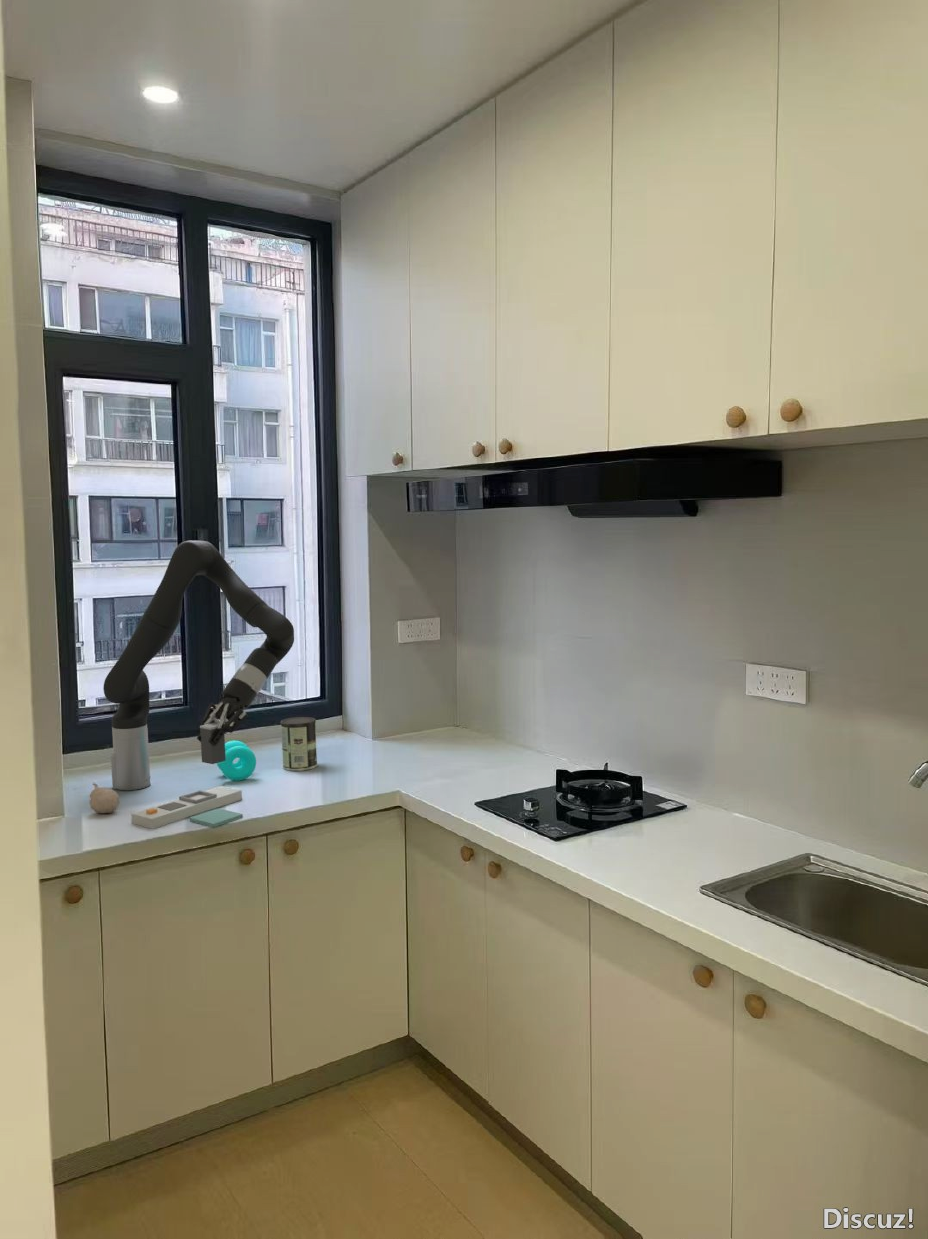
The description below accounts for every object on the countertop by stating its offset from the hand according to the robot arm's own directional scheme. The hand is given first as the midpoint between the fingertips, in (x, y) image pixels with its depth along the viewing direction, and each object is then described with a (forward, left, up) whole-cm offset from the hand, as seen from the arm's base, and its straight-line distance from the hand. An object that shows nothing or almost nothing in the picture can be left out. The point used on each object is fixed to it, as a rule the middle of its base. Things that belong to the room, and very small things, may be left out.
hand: (205, 742), depth 229 cm
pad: (+1, +1, -20) cm, 20 cm away
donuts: (-4, +39, -20) cm, 44 cm away
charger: (+1, +2, -5) cm, 5 cm away
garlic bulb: (-29, +7, -20) cm, 36 cm away
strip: (-8, +8, -20) cm, 23 cm away
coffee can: (+12, +50, -20) cm, 56 cm away
